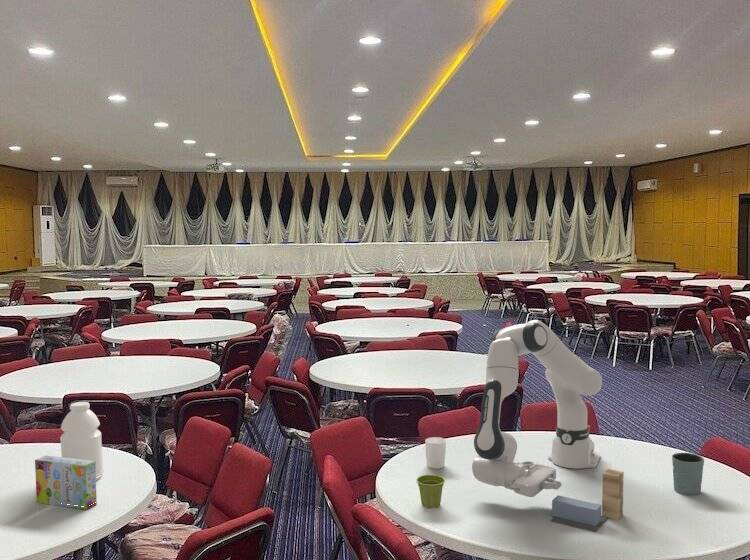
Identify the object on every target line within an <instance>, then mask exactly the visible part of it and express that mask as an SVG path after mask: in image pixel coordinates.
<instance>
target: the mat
mask: <svg viewBox="0 0 750 560" xmlns="http://www.w3.org/2000/svg"><path fill="white" fill-rule="evenodd" d="M608 519H609V518H608V517H604V516H602V515H601V521H600V522H599V523H598V524H597V525H596V526H593V525H589V524H585V523H581V522H577V521H572V520H568V519H564V518H560V517H556V516H553V518H552V519H550V522H553V523H557V524H560V525H561V524H562V525H564V526H565V525H566V526H569V527H573V528H578V529H581V530H586V531H590V532H594V533H596V532H597V531H598V530H599V529H600V528H601V526H602V525H604V523H605V522H606V521H607V520H608Z"/></svg>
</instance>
